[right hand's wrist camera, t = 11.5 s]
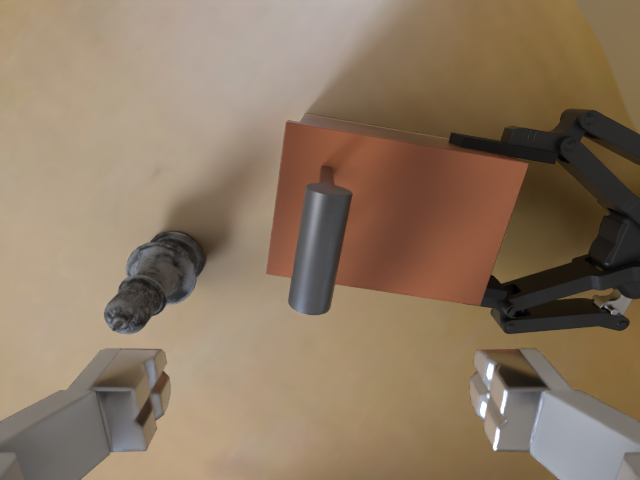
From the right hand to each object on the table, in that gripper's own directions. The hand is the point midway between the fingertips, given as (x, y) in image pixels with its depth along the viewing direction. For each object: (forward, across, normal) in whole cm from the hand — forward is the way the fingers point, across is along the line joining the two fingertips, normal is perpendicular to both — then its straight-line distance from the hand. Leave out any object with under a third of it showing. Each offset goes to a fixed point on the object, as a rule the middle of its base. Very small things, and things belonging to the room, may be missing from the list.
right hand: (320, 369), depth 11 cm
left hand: (+20, -8, +1) cm, 21 cm away
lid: (+16, -4, +1) cm, 17 cm away
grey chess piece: (+26, +13, +8) cm, 30 cm away
